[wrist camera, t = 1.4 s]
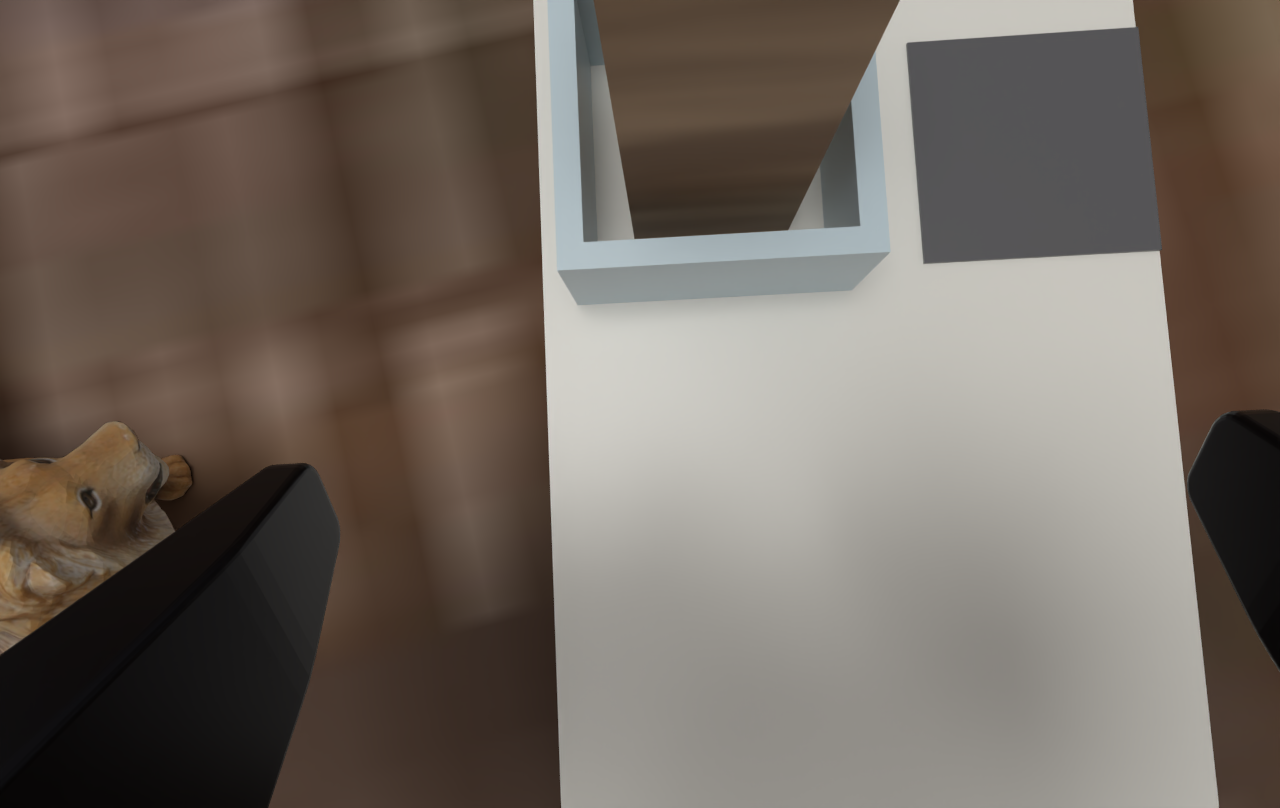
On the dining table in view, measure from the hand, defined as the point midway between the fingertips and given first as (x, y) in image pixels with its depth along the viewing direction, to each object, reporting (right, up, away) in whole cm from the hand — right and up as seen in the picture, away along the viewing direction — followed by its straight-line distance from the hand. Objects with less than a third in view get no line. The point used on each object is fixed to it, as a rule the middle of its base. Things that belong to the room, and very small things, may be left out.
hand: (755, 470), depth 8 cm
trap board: (+4, +2, +13) cm, 14 cm away
